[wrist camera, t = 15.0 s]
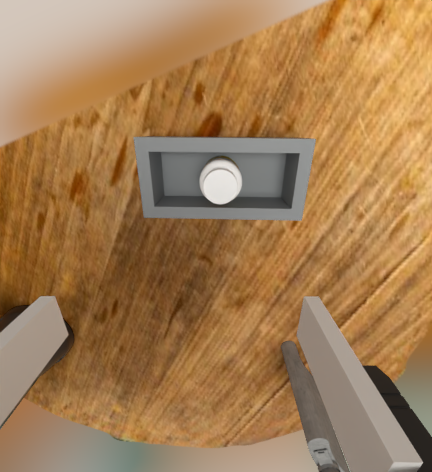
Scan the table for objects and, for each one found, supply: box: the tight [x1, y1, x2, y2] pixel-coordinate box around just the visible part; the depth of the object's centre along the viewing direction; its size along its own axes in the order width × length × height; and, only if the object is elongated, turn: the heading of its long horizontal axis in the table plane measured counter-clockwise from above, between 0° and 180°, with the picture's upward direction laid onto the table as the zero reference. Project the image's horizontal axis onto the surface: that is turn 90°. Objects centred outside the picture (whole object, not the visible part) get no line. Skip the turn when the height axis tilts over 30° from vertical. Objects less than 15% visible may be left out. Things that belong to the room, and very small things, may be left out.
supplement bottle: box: [199, 156, 242, 204], centre depth 30 cm, size 5×5×10 cm
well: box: [134, 136, 316, 220], centre depth 32 cm, size 22×10×7 cm, turn 89°
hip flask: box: [281, 341, 350, 472], centre depth 44 cm, size 16×4×20 cm, turn 29°
